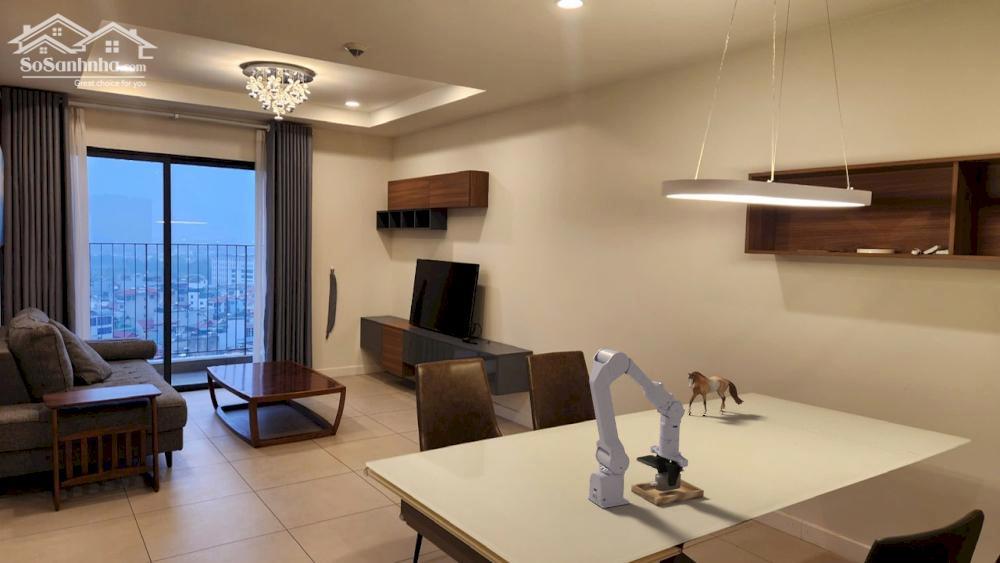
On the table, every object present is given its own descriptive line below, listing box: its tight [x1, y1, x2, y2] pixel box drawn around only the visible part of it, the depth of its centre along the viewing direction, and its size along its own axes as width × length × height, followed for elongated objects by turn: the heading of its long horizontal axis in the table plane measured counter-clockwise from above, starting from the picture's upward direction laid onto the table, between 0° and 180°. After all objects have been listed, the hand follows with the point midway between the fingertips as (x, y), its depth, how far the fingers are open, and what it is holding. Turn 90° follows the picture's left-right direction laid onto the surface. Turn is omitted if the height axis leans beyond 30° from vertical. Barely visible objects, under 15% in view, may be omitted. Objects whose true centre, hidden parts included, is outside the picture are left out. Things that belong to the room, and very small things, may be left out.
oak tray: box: [631, 479, 705, 506], centre depth 187 cm, size 18×12×2 cm, turn 115°
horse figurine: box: [687, 370, 745, 415], centre depth 284 cm, size 31×8×21 cm, turn 112°
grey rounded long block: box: [649, 472, 682, 491], centre depth 186 cm, size 11×4×4 cm, turn 115°
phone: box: [636, 454, 657, 470], centre depth 213 cm, size 8×1×15 cm
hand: (667, 482), depth 187 cm, fingers closed on grey rounded long block, 4 cm apart
